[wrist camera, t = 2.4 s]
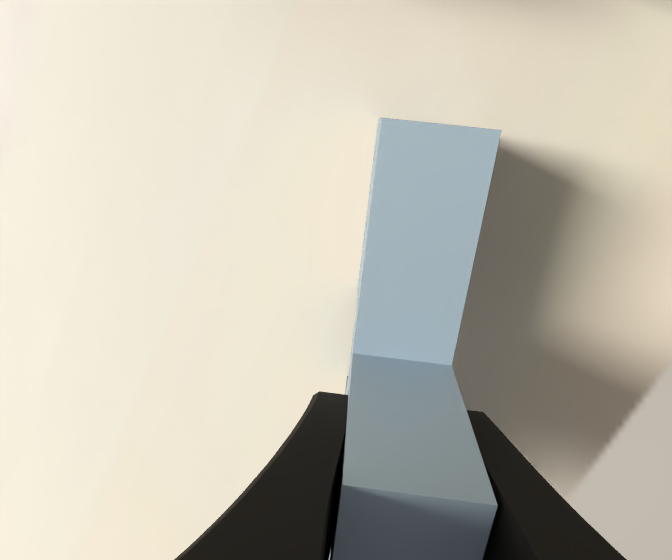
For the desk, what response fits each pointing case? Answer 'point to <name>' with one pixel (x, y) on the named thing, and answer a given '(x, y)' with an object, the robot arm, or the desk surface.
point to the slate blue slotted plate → (415, 353)
